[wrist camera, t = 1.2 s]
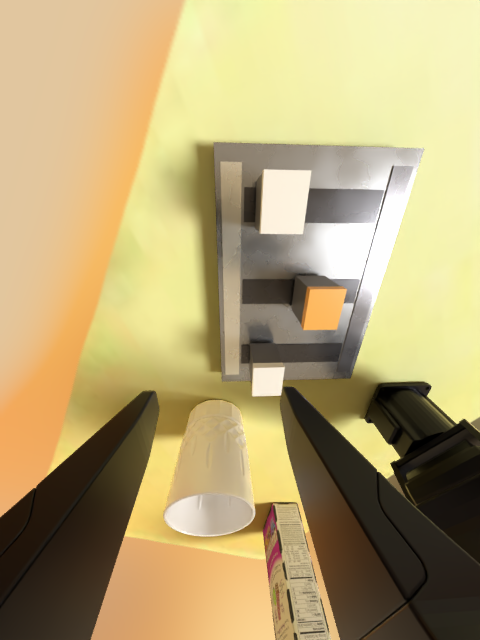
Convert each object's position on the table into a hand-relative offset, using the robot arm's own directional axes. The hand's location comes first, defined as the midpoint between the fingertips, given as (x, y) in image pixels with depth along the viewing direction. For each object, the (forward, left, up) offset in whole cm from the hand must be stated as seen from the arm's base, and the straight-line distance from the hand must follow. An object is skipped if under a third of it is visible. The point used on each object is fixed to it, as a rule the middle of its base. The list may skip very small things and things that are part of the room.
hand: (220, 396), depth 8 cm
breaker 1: (-3, -6, -11) cm, 13 cm away
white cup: (+2, +17, -13) cm, 22 cm away
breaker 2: (-3, +7, -11) cm, 13 cm away
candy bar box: (-9, +45, -13) cm, 48 cm away
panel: (-6, 0, -13) cm, 15 cm away
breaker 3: (-7, 0, -11) cm, 13 cm away
